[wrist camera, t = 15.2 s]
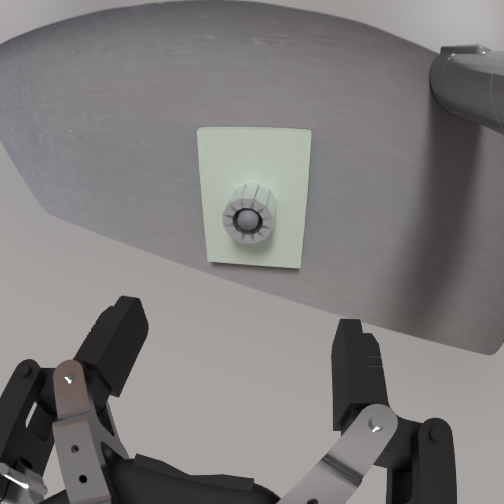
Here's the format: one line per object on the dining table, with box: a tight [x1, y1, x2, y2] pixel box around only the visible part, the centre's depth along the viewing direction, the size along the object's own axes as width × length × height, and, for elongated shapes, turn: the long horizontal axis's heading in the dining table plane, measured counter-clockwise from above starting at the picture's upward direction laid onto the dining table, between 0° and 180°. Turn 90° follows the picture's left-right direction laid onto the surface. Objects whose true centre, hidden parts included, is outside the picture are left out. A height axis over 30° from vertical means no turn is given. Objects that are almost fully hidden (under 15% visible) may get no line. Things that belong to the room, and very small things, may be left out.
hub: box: [222, 183, 276, 244], centre depth 37 cm, size 6×6×5 cm
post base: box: [197, 127, 311, 268], centre depth 38 cm, size 20×14×7 cm
